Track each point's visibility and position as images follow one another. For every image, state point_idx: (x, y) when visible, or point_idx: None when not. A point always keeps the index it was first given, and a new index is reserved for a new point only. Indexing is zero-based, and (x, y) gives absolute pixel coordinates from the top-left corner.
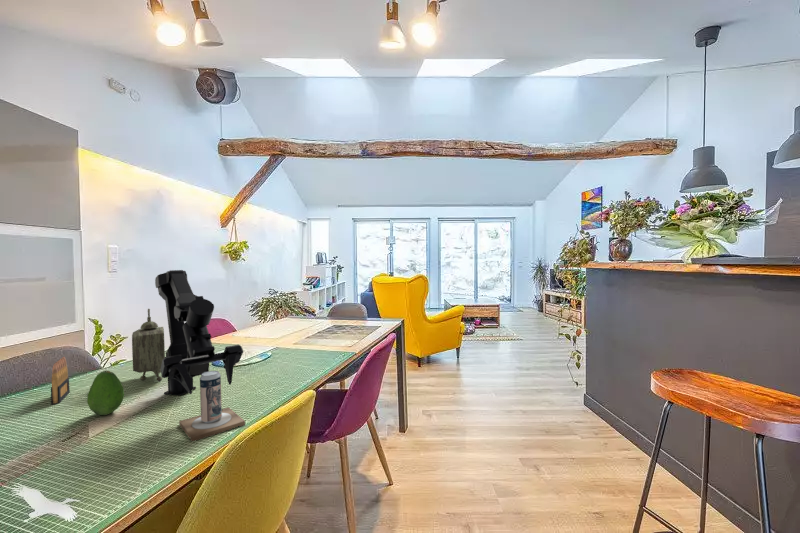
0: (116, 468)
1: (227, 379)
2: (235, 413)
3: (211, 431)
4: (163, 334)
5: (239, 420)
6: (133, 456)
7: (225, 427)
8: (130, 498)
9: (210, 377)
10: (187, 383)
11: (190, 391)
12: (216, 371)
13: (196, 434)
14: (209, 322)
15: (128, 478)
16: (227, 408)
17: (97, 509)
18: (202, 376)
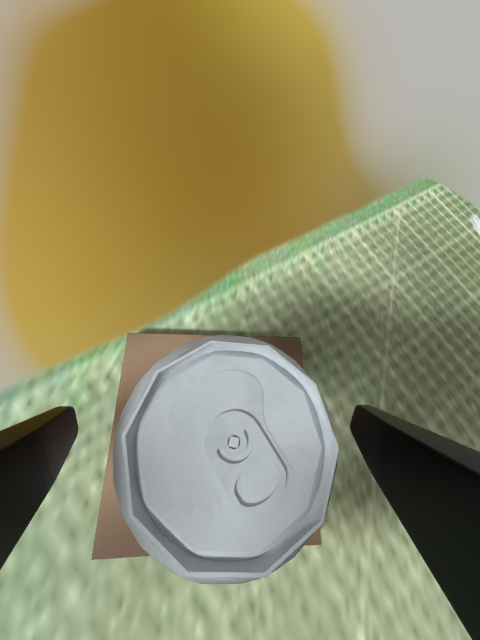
0: (455, 333)
1: (44, 493)
2: (113, 435)
3: (242, 336)
4: None
5: (138, 351)
6: (431, 369)
7: (197, 335)
8: (407, 208)
9: (255, 341)
10: (433, 435)
11: (369, 406)
12: (133, 493)
13: (285, 349)
14: None
15: (422, 271)
16: (104, 543)
17: (447, 215)
18: (324, 418)
